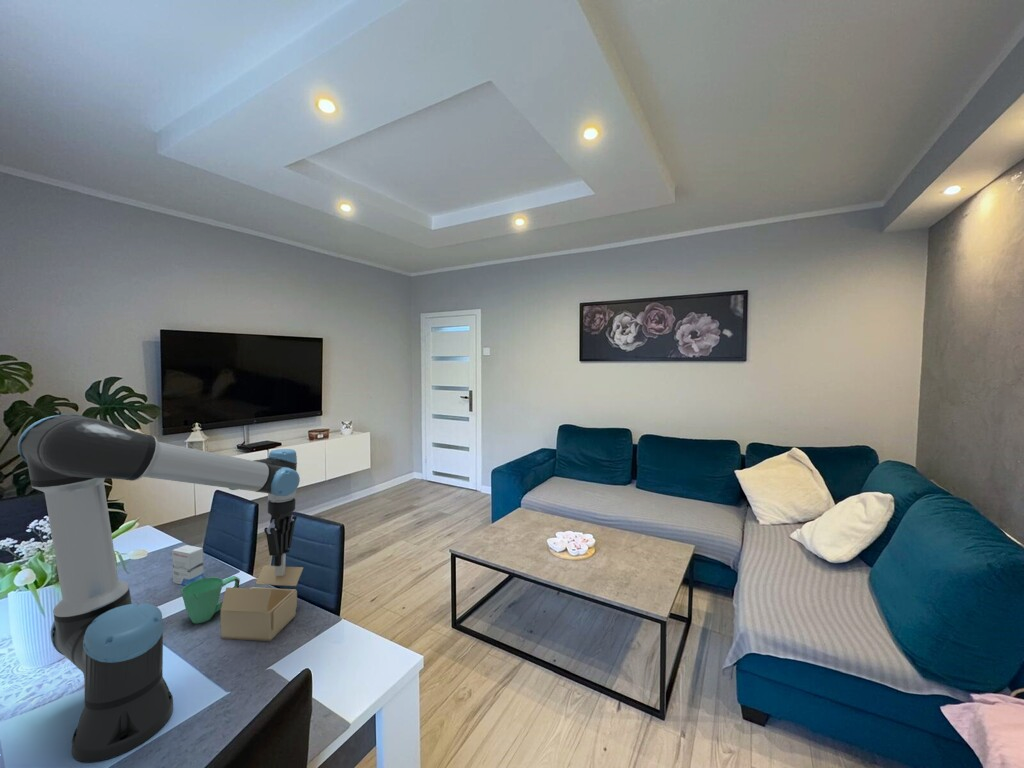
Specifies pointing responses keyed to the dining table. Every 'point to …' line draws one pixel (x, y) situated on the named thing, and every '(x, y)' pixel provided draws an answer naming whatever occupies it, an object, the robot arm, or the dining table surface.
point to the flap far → (286, 580)
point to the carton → (260, 618)
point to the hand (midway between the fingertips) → (279, 574)
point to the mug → (204, 597)
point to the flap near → (246, 599)
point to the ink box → (187, 564)
